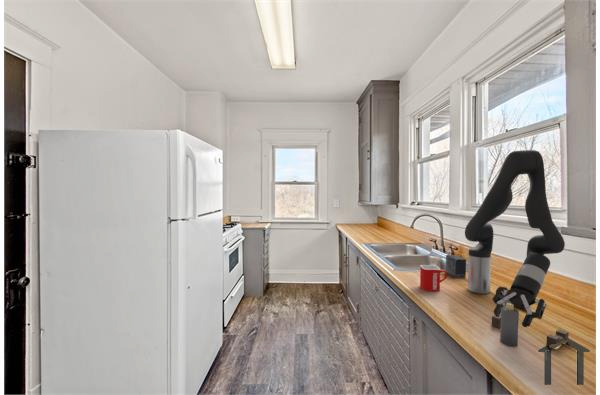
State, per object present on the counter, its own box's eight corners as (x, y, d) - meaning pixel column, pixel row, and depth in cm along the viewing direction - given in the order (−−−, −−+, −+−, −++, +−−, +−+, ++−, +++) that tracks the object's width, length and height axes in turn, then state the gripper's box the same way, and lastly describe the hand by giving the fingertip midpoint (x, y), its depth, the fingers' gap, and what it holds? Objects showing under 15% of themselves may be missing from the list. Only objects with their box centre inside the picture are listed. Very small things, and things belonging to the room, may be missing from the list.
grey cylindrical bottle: (504, 337, 105) (506, 300, 105) (520, 344, 101) (521, 305, 100) (497, 341, 103) (498, 303, 102) (512, 348, 99) (514, 308, 98)
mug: (423, 291, 150) (424, 269, 150) (418, 285, 158) (419, 264, 158) (449, 291, 149) (449, 270, 148) (443, 286, 157) (443, 265, 157)
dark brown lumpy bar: (524, 315, 128) (499, 299, 142) (534, 309, 128) (508, 294, 142) (518, 303, 127) (493, 289, 142) (528, 297, 127) (503, 283, 142)
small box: (466, 278, 170) (467, 259, 170) (455, 278, 170) (455, 259, 169) (455, 272, 181) (456, 254, 180) (444, 272, 180) (445, 254, 180)
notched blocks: (504, 319, 119) (504, 310, 119) (568, 342, 102) (568, 332, 102) (491, 325, 114) (491, 316, 114) (555, 350, 97) (556, 339, 97)
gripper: (502, 269, 112) (483, 306, 107) (549, 280, 100) (530, 323, 95) (510, 281, 115) (491, 318, 110) (556, 293, 103) (538, 335, 98)
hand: (509, 320), depth 102 cm, fingers open, 8 cm apart
